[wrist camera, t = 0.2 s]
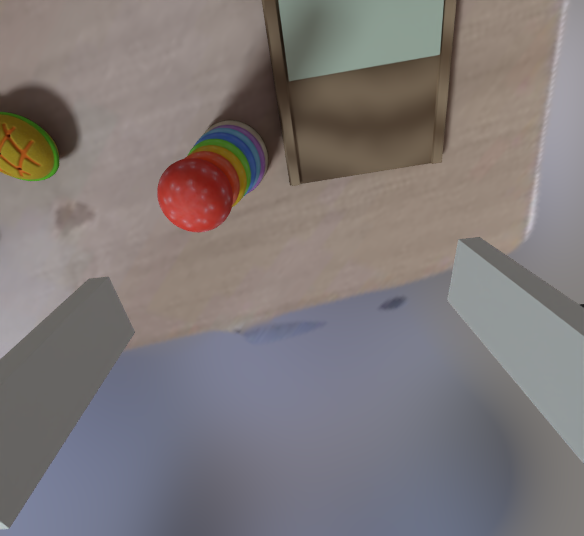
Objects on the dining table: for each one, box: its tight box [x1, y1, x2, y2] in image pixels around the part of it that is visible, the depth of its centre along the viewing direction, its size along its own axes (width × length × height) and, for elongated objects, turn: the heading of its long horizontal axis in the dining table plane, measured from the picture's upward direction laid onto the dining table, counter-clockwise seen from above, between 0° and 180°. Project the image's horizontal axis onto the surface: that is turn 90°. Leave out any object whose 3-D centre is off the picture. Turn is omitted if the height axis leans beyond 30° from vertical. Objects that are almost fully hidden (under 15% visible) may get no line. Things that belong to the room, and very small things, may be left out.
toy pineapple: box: [0, 112, 59, 181], centre depth 32 cm, size 7×10×5 cm
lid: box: [278, 0, 444, 81], centre depth 26 cm, size 9×15×4 cm, turn 99°
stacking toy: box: [157, 120, 268, 232], centre depth 27 cm, size 8×8×19 cm
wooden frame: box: [262, 0, 456, 186], centre depth 30 cm, size 22×18×2 cm
